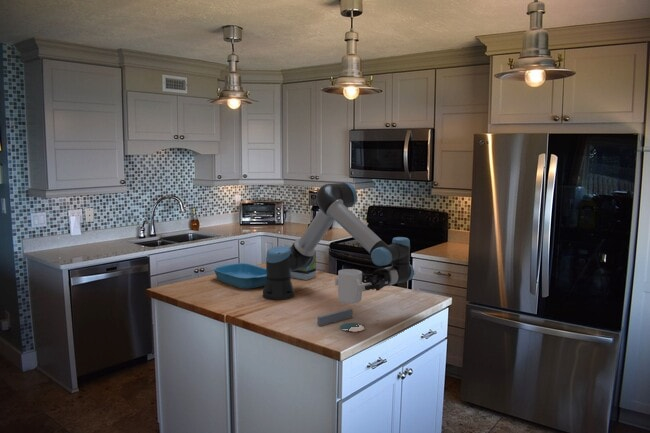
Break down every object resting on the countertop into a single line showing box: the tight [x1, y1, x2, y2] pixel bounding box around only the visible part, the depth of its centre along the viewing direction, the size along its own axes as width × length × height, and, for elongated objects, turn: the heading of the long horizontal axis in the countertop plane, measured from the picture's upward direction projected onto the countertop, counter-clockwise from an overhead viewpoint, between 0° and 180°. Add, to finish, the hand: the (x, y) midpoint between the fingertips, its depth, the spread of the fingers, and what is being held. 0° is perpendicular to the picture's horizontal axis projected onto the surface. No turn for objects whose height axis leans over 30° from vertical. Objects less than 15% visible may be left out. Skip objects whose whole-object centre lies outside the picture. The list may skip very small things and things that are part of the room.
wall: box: [316, 308, 354, 327], centre depth 216 cm, size 18×2×4 cm, turn 130°
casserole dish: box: [213, 262, 266, 290], centre depth 275 cm, size 37×22×7 cm, turn 44°
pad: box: [339, 322, 366, 332], centre depth 208 cm, size 10×10×1 cm
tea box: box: [291, 250, 317, 281], centre depth 287 cm, size 15×10×15 cm, turn 58°
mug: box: [337, 268, 363, 305], centre depth 205 cm, size 10×12×12 cm
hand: (346, 285), depth 203 cm, fingers closed on mug, 12 cm apart
